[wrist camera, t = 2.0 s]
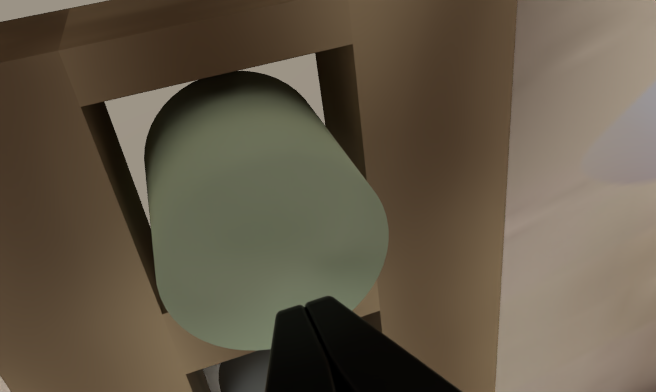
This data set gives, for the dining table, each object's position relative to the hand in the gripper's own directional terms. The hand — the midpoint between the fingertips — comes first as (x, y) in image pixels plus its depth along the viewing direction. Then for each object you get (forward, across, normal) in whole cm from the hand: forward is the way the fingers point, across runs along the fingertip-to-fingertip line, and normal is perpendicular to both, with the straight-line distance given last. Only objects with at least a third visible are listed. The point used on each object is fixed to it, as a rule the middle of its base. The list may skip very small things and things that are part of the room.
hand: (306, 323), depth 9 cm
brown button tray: (+7, 0, +7) cm, 10 cm away
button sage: (+6, 0, 0) cm, 6 cm away
